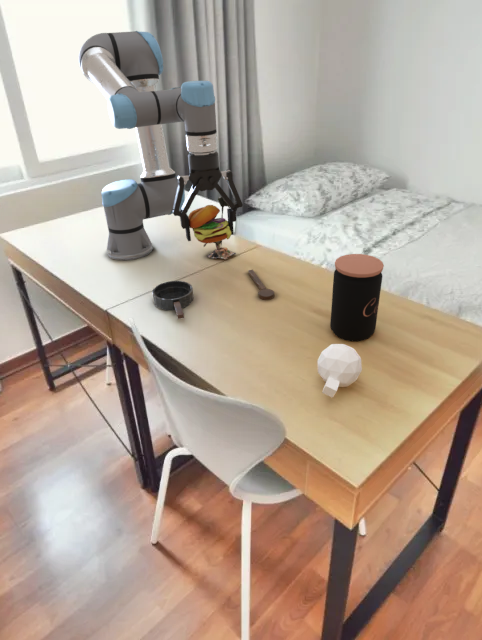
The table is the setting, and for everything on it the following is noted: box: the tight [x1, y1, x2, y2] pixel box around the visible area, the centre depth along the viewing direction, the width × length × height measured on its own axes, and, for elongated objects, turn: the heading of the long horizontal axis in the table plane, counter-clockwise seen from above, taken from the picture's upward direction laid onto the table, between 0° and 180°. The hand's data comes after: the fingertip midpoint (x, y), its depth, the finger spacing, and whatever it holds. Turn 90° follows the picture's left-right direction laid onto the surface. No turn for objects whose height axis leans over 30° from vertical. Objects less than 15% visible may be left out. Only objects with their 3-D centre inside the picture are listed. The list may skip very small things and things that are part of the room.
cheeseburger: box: [187, 204, 232, 244], centre depth 123 cm, size 10×11×10 cm
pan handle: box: [173, 301, 185, 320], centre depth 120 cm, size 7×2×3 cm, turn 16°
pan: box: [151, 280, 195, 311], centre depth 128 cm, size 11×11×4 cm
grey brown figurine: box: [203, 195, 237, 260], centre depth 149 cm, size 8×11×20 cm
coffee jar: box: [329, 253, 385, 343], centre depth 107 cm, size 11×11×18 cm
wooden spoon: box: [248, 269, 275, 301], centre depth 134 cm, size 17×4×1 cm, turn 16°
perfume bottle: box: [316, 343, 363, 398], centre depth 93 cm, size 9×9×12 cm
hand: (210, 236), depth 125 cm, fingers closed on cheeseburger, 11 cm apart
